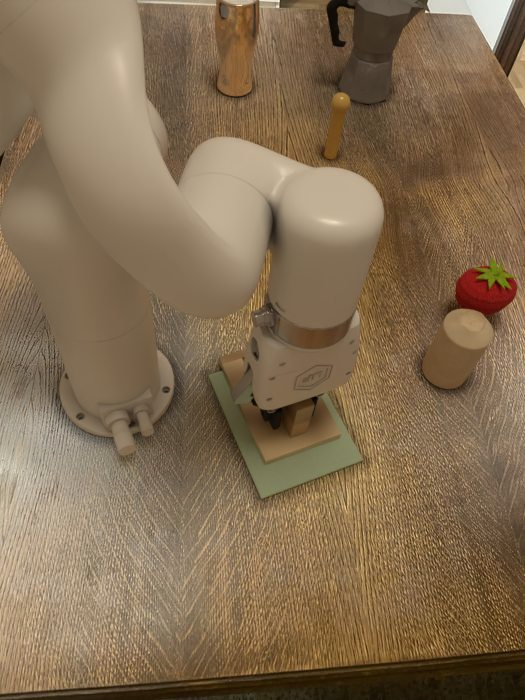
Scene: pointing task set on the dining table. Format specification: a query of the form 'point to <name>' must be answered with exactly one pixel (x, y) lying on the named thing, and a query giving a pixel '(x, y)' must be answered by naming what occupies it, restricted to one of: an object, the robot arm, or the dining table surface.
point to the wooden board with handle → (282, 420)
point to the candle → (457, 348)
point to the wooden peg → (336, 124)
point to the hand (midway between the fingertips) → (287, 411)
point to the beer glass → (236, 44)
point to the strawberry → (486, 289)
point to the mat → (292, 467)
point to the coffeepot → (371, 44)
